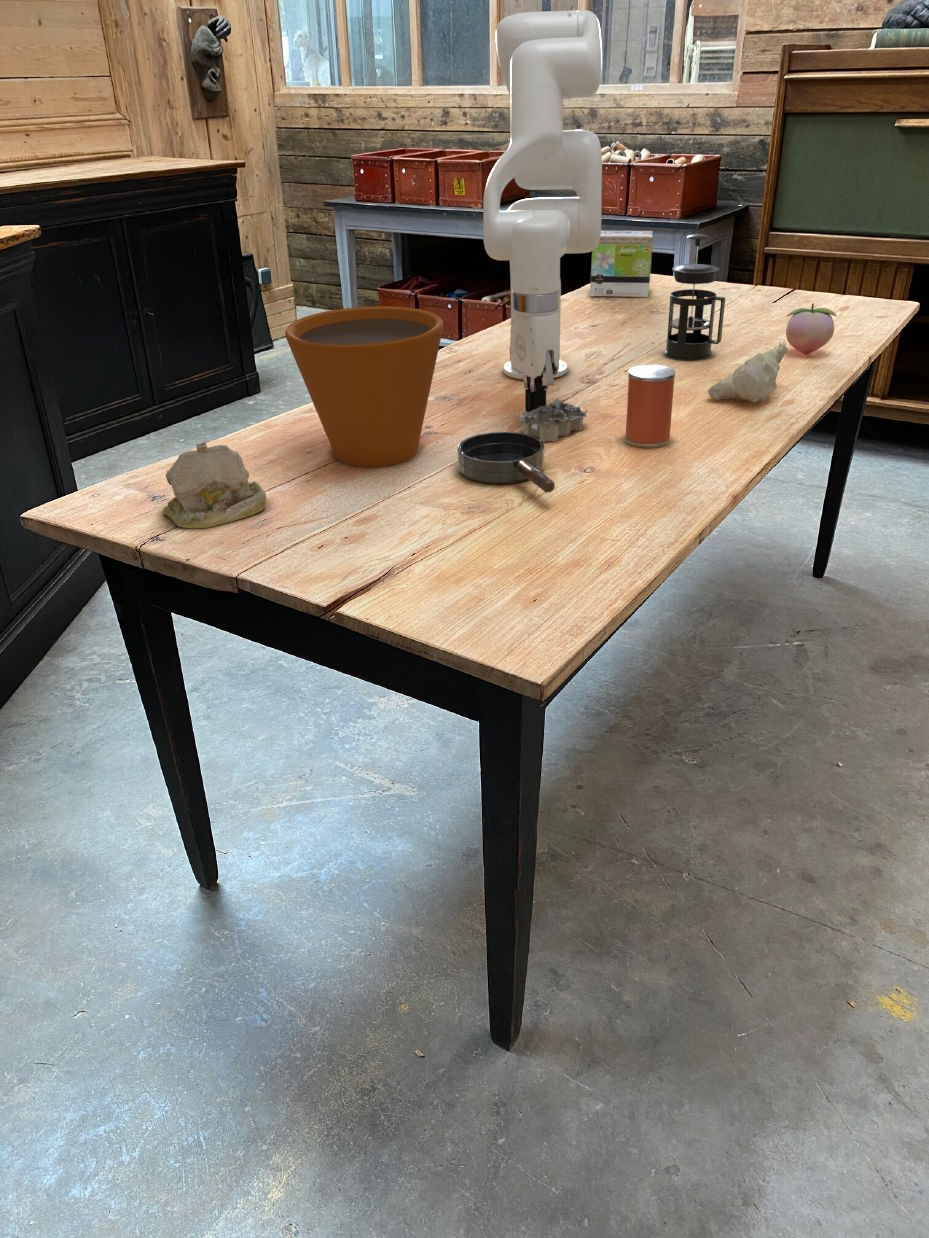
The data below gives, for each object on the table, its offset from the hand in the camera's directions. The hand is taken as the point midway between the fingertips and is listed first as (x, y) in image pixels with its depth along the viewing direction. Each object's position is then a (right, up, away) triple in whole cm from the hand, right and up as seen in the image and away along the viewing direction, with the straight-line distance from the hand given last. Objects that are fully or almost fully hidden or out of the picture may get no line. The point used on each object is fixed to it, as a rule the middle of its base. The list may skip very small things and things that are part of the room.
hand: (535, 411), depth 160 cm
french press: (+34, +19, +32) cm, 51 cm away
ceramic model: (-48, -20, -27) cm, 58 cm away
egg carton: (+2, -4, -4) cm, 6 cm away
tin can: (+17, -7, -9) cm, 21 cm away
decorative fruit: (+57, +18, +30) cm, 67 cm away
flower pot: (-27, -8, -8) cm, 29 cm away
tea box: (+28, +49, +83) cm, 100 cm away
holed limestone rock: (+39, +5, +9) cm, 41 cm away
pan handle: (-2, -16, -28) cm, 32 cm away
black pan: (-7, -13, -18) cm, 23 cm away
